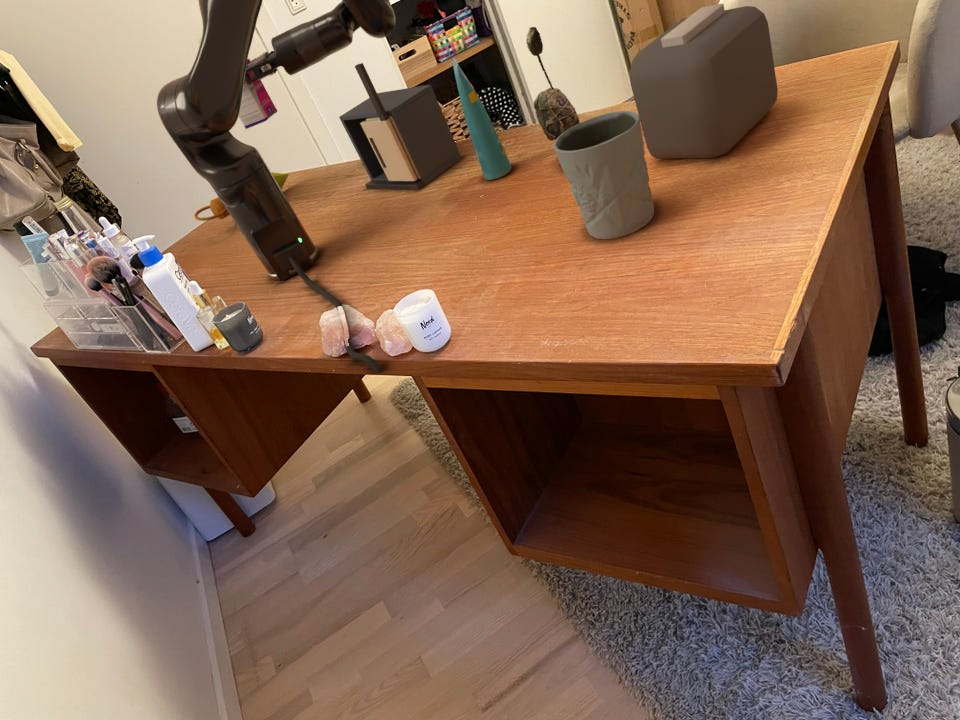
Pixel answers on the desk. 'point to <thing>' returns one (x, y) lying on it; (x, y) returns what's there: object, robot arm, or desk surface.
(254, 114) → the supplement box
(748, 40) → the alarm clock
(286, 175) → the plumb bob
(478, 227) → the desk surface
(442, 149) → the closet
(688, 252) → the desk surface
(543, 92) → the plant with pod
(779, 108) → the desk surface
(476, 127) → the teal cone
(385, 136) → the door
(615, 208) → the grey embossed cup
